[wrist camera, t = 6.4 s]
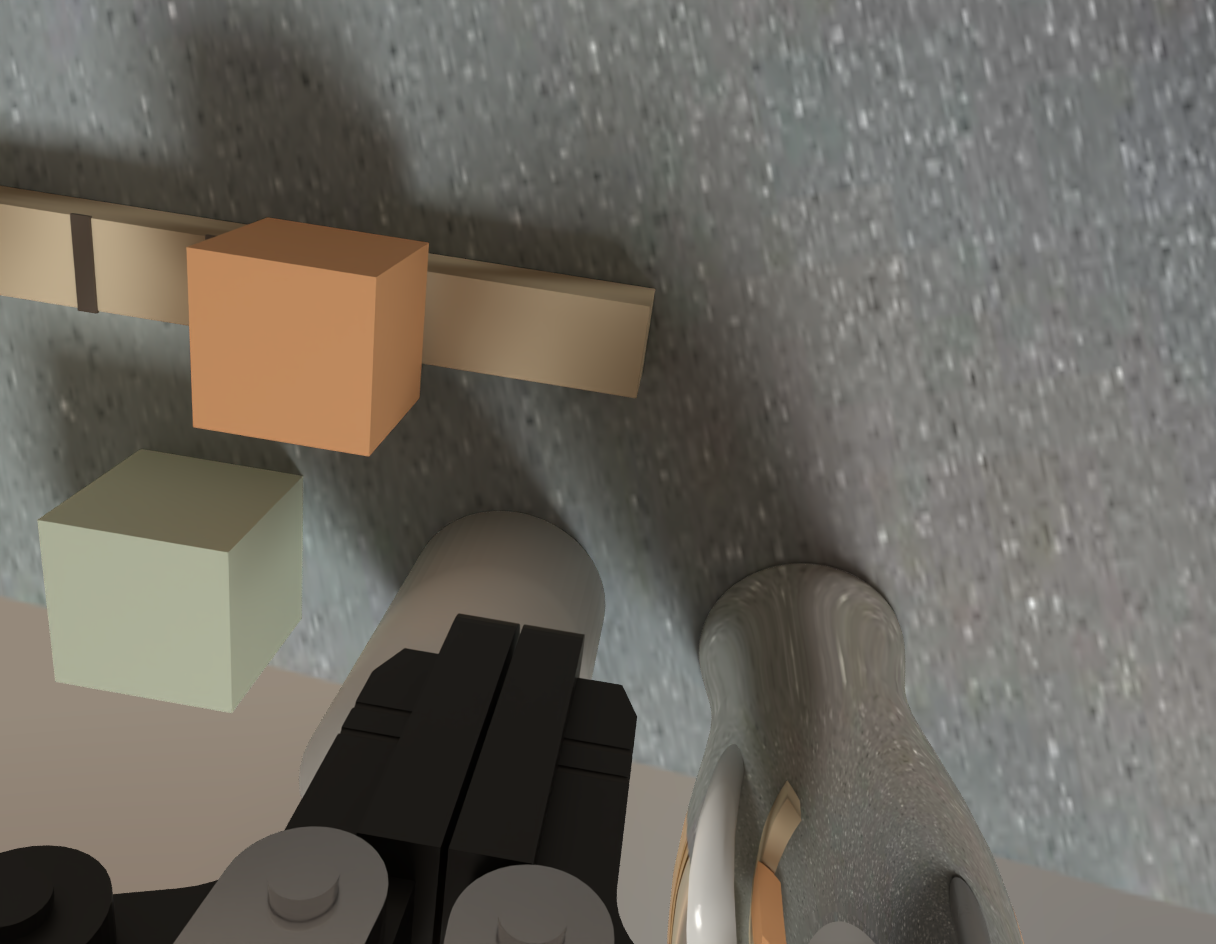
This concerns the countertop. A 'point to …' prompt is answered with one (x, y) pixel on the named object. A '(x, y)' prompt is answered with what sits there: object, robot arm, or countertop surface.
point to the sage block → (174, 578)
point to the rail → (454, 307)
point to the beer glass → (823, 784)
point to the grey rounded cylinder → (476, 600)
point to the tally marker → (306, 333)
